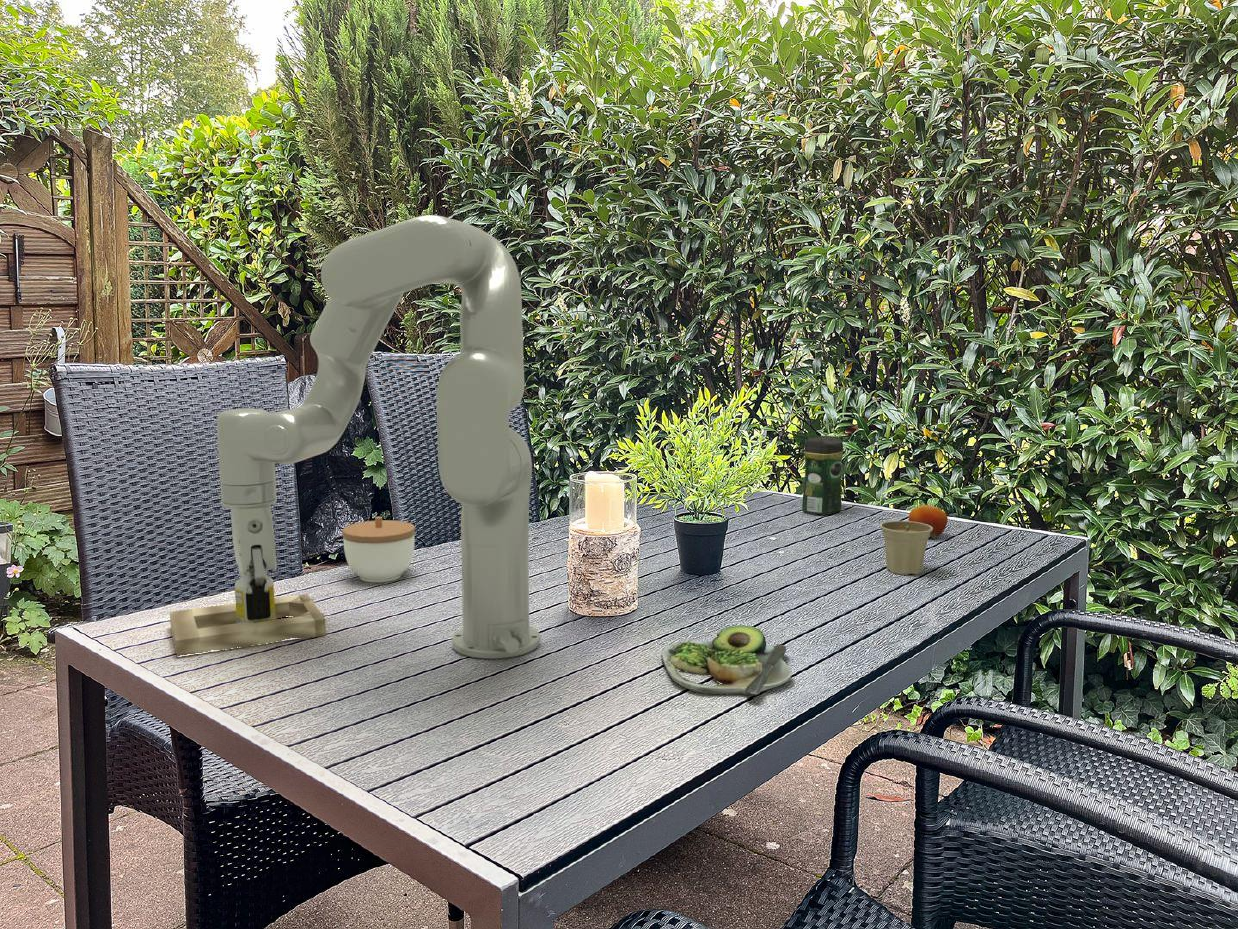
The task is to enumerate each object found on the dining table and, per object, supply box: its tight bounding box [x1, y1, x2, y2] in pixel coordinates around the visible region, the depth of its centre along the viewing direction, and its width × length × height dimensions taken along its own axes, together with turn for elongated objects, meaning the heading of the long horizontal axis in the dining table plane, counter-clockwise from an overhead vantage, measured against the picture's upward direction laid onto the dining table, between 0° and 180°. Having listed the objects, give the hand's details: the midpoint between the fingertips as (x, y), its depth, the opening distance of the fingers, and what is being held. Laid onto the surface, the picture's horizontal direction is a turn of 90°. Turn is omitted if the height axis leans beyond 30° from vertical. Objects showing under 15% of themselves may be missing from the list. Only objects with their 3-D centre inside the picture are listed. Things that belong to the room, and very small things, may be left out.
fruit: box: [908, 504, 949, 541], centre depth 203 cm, size 8×8×8 cm
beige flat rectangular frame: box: [169, 593, 327, 657], centre depth 140 cm, size 20×14×2 cm
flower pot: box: [879, 520, 933, 576], centre depth 175 cm, size 9×9×9 cm
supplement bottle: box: [234, 565, 277, 623], centre depth 140 cm, size 5×5×10 cm
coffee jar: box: [801, 435, 844, 516], centre depth 226 cm, size 10×8×19 cm
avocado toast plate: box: [660, 624, 793, 696], centre depth 125 cm, size 19×18×5 cm
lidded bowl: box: [342, 516, 416, 584], centre depth 168 cm, size 13×13×11 cm
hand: (256, 611), depth 140 cm, fingers closed on supplement bottle, 5 cm apart
